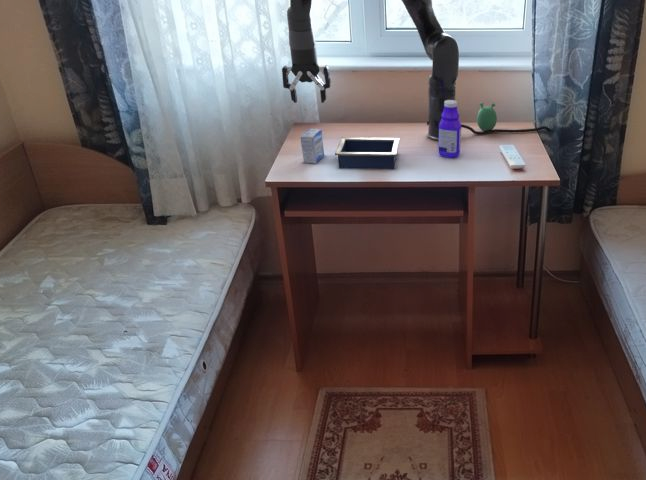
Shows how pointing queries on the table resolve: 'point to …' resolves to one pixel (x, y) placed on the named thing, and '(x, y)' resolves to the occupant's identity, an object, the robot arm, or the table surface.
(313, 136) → the medicine box
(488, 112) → the alien toy
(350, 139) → the rectangular frame
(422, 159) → the table surface
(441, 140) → the bottle
